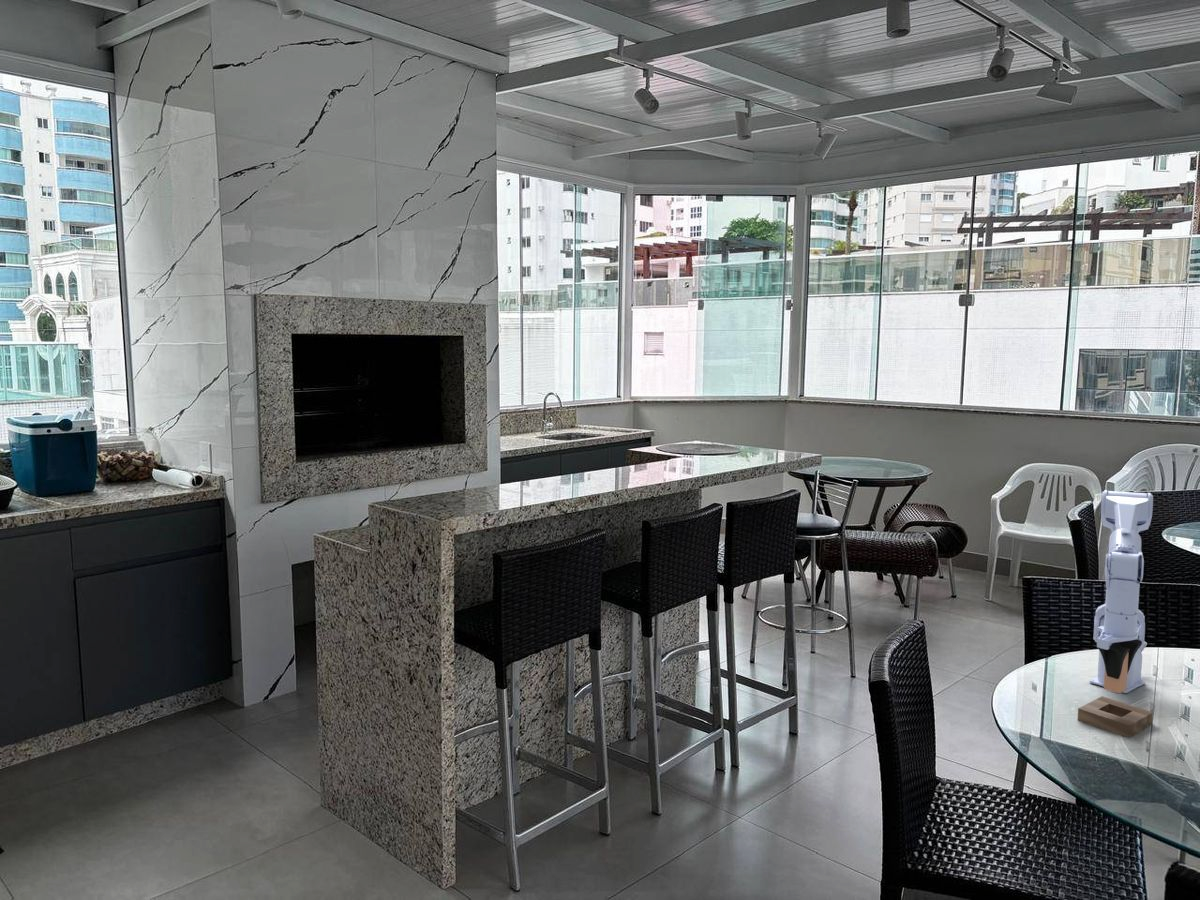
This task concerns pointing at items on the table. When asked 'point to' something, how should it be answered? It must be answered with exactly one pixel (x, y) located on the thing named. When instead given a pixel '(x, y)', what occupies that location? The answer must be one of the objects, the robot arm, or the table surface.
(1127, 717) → the socket
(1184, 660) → the table surface
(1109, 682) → the peg
